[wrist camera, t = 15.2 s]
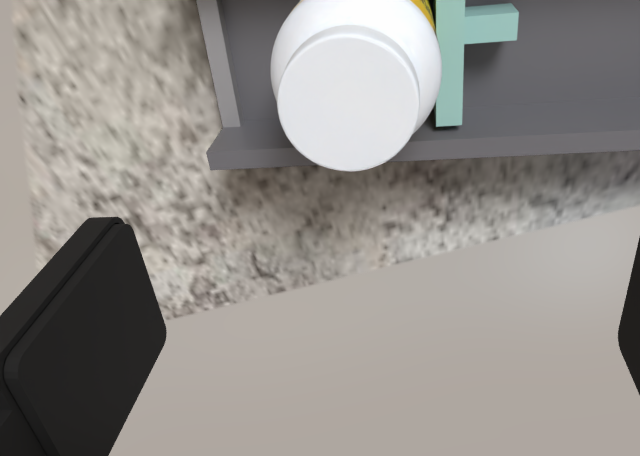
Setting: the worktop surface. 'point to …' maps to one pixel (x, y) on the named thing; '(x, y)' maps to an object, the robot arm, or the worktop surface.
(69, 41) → the worktop surface
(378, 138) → the pill bottle
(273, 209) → the worktop surface
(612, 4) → the tray
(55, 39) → the worktop surface
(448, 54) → the pusher paddle
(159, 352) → the robot arm
